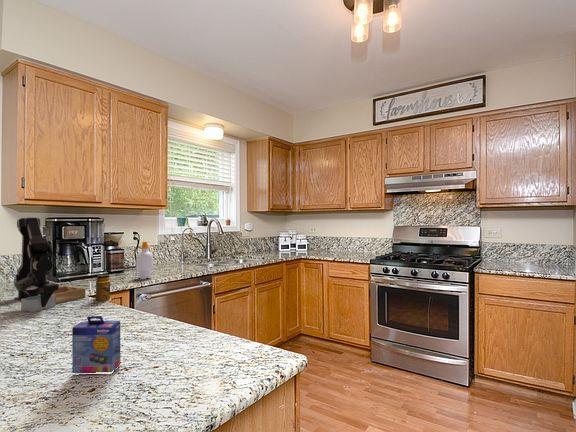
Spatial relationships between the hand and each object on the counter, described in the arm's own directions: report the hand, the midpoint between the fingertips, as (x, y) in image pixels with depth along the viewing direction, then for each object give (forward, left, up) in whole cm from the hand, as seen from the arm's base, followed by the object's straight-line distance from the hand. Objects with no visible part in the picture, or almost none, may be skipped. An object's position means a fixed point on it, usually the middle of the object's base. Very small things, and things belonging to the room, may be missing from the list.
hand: (38, 306), depth 147 cm
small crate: (0, 0, -1) cm, 1 cm away
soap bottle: (-17, +75, -1) cm, 76 cm away
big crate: (-9, +15, -1) cm, 18 cm away
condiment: (+11, +22, -1) cm, 24 cm away
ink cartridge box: (+79, -31, -1) cm, 85 cm away
